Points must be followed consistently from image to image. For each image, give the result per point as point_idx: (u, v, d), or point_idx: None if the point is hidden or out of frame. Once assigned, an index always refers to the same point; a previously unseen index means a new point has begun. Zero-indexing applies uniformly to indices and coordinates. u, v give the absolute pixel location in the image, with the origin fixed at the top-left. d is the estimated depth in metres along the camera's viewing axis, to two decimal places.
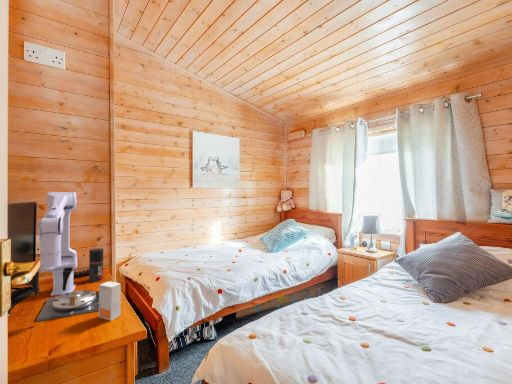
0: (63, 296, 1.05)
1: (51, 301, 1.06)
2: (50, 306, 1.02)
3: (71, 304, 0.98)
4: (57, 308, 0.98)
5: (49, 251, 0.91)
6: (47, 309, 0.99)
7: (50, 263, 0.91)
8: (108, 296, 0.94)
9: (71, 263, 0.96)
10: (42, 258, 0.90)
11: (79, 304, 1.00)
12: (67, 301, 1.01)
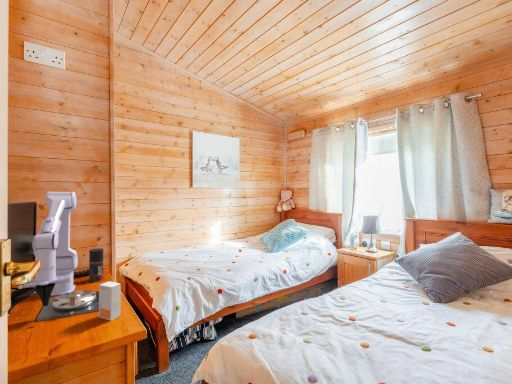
0: (63, 296, 1.05)
1: (51, 301, 1.06)
2: (50, 306, 1.02)
3: (71, 304, 0.98)
4: (57, 308, 0.98)
5: (43, 266, 0.93)
6: (47, 309, 0.99)
7: (45, 277, 0.93)
8: (108, 296, 0.94)
9: (66, 277, 0.98)
10: (37, 273, 0.93)
11: (79, 304, 1.00)
12: (67, 301, 1.01)
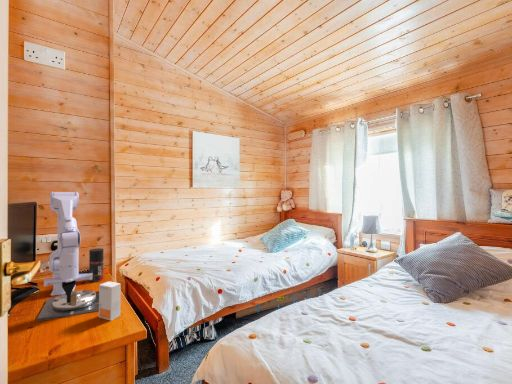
0: (62, 296, 1.05)
1: (51, 301, 1.06)
2: (50, 306, 1.02)
3: (72, 304, 0.98)
4: (58, 308, 0.98)
5: (70, 264, 0.96)
6: (47, 309, 0.99)
7: (70, 275, 0.96)
8: (108, 296, 0.94)
9: (88, 274, 1.02)
10: (62, 271, 0.96)
11: (79, 303, 1.00)
12: None
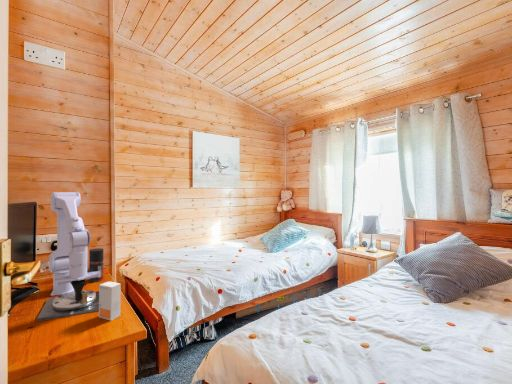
0: (60, 299, 1.03)
1: (51, 301, 1.06)
2: (50, 306, 1.02)
3: (84, 301, 1.00)
4: (66, 308, 0.98)
5: (80, 262, 0.98)
6: (47, 309, 0.99)
7: (81, 273, 0.98)
8: (108, 296, 0.94)
9: (96, 272, 1.04)
10: (73, 269, 0.97)
11: (88, 301, 1.03)
12: (72, 301, 1.02)
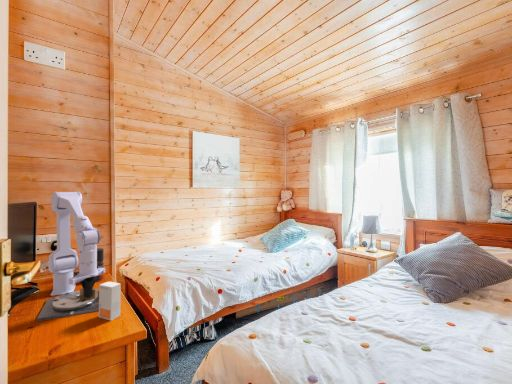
0: (60, 301, 1.01)
1: (51, 301, 1.06)
2: (50, 306, 1.02)
3: (96, 296, 1.05)
4: (79, 306, 1.00)
5: (91, 260, 1.01)
6: (47, 309, 0.99)
7: (95, 269, 1.03)
8: (108, 296, 0.94)
9: (101, 268, 1.09)
10: (88, 267, 1.01)
11: None
12: (79, 299, 1.03)
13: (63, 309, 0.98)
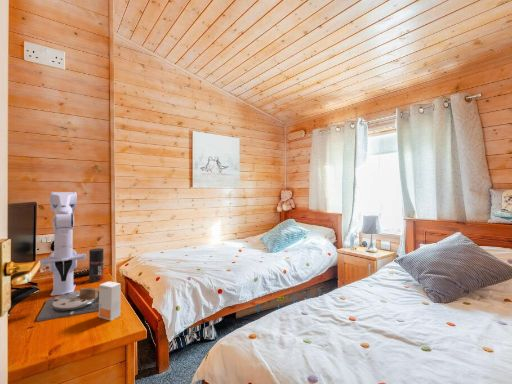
0: (60, 301, 1.01)
1: (51, 301, 1.06)
2: (50, 306, 1.02)
3: (96, 296, 1.05)
4: (79, 306, 1.00)
5: (63, 244, 1.01)
6: (47, 309, 0.99)
7: (65, 254, 1.01)
8: (108, 296, 0.94)
9: (81, 254, 1.07)
10: (58, 250, 1.00)
11: None
12: (79, 299, 1.03)
13: (63, 309, 0.98)
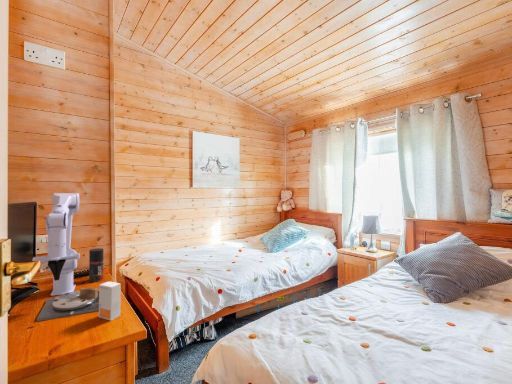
0: (60, 301, 1.01)
1: (51, 301, 1.06)
2: (50, 306, 1.02)
3: (96, 296, 1.05)
4: (79, 306, 1.00)
5: (56, 243, 1.01)
6: (47, 309, 0.99)
7: (57, 253, 1.01)
8: (108, 296, 0.94)
9: (75, 254, 1.06)
10: (50, 249, 1.01)
11: None
12: (79, 299, 1.03)
13: (63, 309, 0.98)
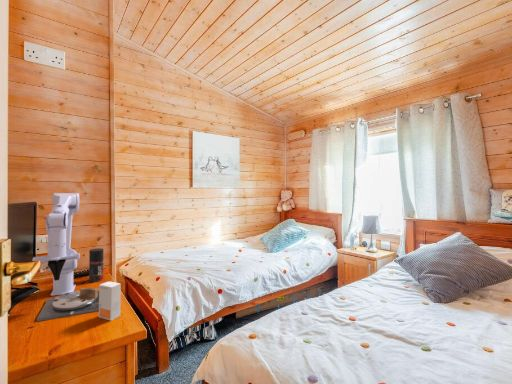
0: (60, 301, 1.01)
1: (51, 301, 1.06)
2: (50, 306, 1.02)
3: (96, 296, 1.05)
4: (79, 306, 1.00)
5: (56, 243, 1.01)
6: (47, 309, 0.99)
7: (57, 253, 1.01)
8: (108, 296, 0.94)
9: (75, 254, 1.06)
10: (50, 249, 1.01)
11: None
12: (79, 299, 1.03)
13: (63, 309, 0.98)
